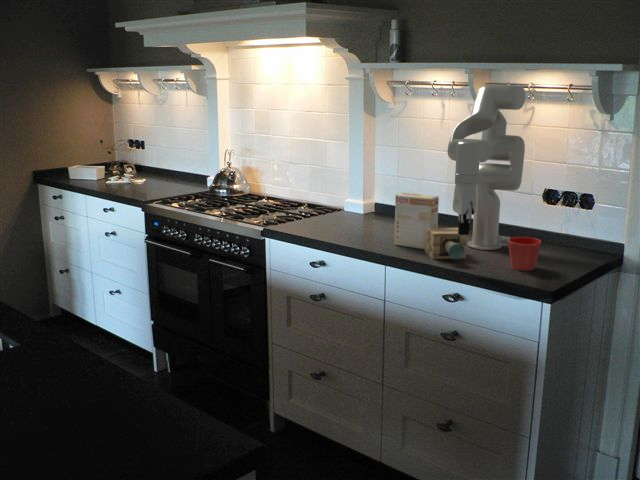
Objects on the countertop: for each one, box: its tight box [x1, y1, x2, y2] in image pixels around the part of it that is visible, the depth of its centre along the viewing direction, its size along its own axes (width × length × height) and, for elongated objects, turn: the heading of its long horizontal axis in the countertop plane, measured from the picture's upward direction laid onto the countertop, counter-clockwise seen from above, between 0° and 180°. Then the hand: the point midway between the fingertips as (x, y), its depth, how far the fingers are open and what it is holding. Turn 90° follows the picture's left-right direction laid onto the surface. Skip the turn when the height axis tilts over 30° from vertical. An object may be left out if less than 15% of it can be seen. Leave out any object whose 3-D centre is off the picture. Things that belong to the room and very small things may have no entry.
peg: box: [443, 239, 465, 260], centre depth 249 cm, size 11×6×6 cm, turn 8°
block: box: [424, 226, 468, 260], centre depth 256 cm, size 10×12×9 cm
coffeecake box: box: [393, 192, 440, 250], centre depth 269 cm, size 15×7×20 cm, turn 56°
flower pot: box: [507, 236, 542, 272], centre depth 240 cm, size 11×11×10 cm
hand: (463, 234), depth 236 cm, fingers closed
